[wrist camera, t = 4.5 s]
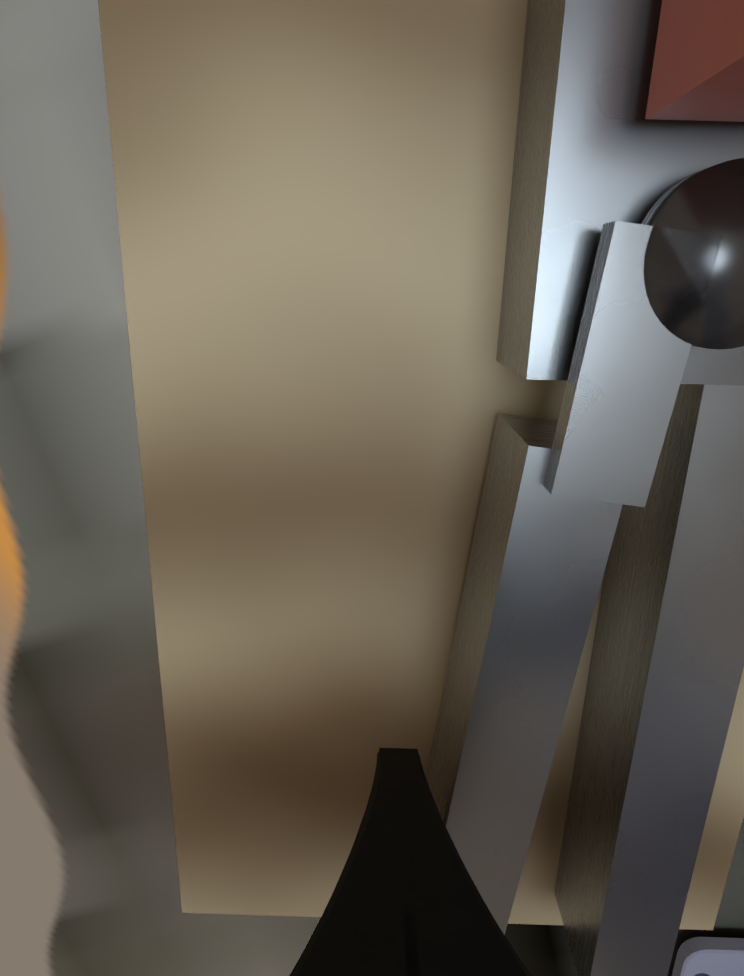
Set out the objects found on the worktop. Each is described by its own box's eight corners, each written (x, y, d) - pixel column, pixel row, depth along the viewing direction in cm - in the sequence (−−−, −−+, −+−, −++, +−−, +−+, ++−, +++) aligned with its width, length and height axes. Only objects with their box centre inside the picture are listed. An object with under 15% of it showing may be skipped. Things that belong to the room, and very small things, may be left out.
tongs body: (631, 894, 14) (677, 1004, 12) (450, 888, 14) (462, 997, 12) (826, -43, 8) (975, -152, 6) (532, -50, 8) (582, -162, 6)
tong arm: (526, 904, 13) (559, 1044, 11) (403, 891, 13) (408, 1028, 11) (725, 203, 9) (855, 172, 7) (544, 177, 9) (607, 135, 6)
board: (687, 881, 15) (712, 930, 14) (197, 865, 15) (182, 913, 14) (903, 0, 10) (974, -39, 8) (126, -20, 10) (92, -61, 8)
